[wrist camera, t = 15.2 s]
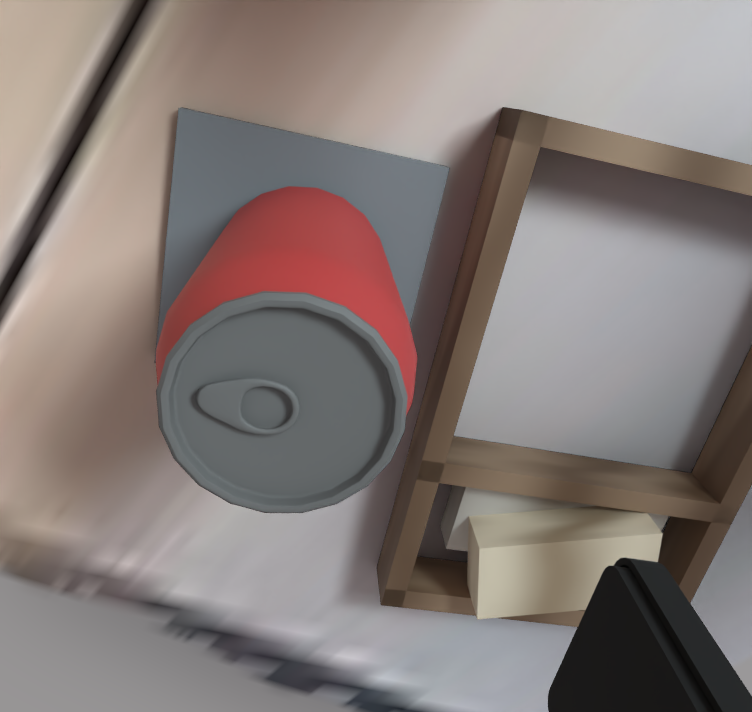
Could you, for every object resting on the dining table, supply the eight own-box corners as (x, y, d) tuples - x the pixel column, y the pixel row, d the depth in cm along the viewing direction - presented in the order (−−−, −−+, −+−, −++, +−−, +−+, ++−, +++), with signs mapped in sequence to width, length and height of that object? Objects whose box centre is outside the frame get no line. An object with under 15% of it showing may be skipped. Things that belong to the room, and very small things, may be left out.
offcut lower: (650, 480, 32) (672, 507, 30) (622, 543, 33) (641, 573, 31) (459, 450, 30) (469, 477, 28) (438, 519, 32) (446, 548, 30)
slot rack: (849, 190, 26) (899, 200, 24) (649, 600, 34) (672, 637, 32) (503, 106, 24) (521, 110, 22) (376, 567, 32) (380, 605, 30)
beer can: (228, 166, 23) (142, 240, 12) (402, 202, 24) (464, 301, 13) (207, 331, 26) (120, 514, 15) (366, 358, 27) (394, 549, 16)
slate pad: (447, 166, 25) (449, 168, 24) (389, 395, 28) (390, 401, 28) (181, 107, 23) (178, 107, 23) (157, 357, 27) (154, 362, 26)
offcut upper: (639, 502, 30) (662, 533, 28) (629, 570, 31) (650, 603, 29) (468, 516, 29) (479, 548, 27) (466, 583, 31) (477, 619, 29)
